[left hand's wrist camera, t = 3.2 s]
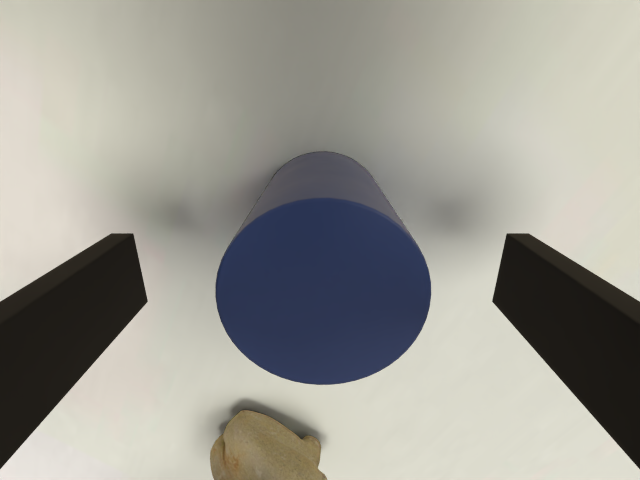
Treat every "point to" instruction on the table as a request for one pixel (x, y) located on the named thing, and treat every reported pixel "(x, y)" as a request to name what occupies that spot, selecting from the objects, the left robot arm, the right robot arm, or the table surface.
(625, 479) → the table surface
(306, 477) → the sculpture
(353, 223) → the can
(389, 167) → the table surface
